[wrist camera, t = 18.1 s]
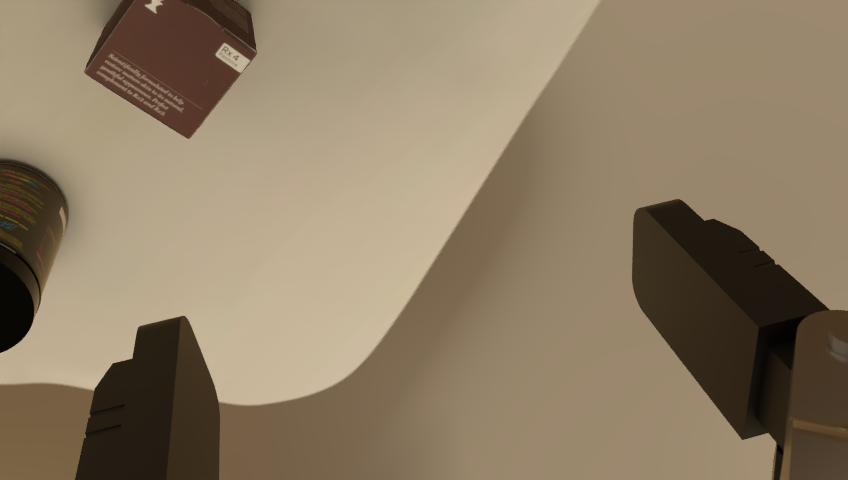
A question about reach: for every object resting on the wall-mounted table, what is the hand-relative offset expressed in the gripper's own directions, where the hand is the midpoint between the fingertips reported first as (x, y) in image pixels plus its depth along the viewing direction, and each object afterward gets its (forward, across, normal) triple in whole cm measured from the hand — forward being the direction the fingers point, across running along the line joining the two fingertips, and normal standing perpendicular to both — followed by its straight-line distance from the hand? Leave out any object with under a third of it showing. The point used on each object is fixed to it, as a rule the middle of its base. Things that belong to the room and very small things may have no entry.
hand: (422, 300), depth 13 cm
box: (+34, +7, +3) cm, 35 cm away
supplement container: (+34, +20, +12) cm, 42 cm away
